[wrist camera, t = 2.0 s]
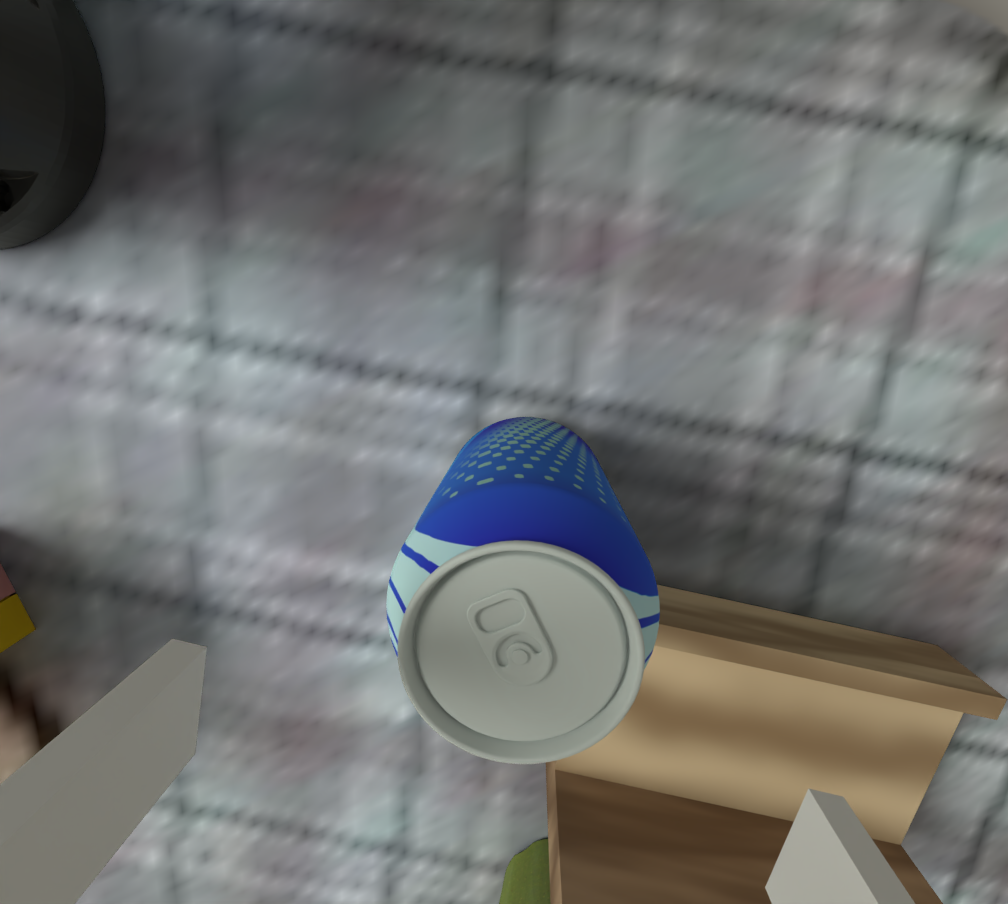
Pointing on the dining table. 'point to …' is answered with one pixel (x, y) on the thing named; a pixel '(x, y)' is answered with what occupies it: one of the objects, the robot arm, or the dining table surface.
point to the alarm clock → (11, 615)
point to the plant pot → (528, 876)
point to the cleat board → (752, 754)
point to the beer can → (523, 599)
